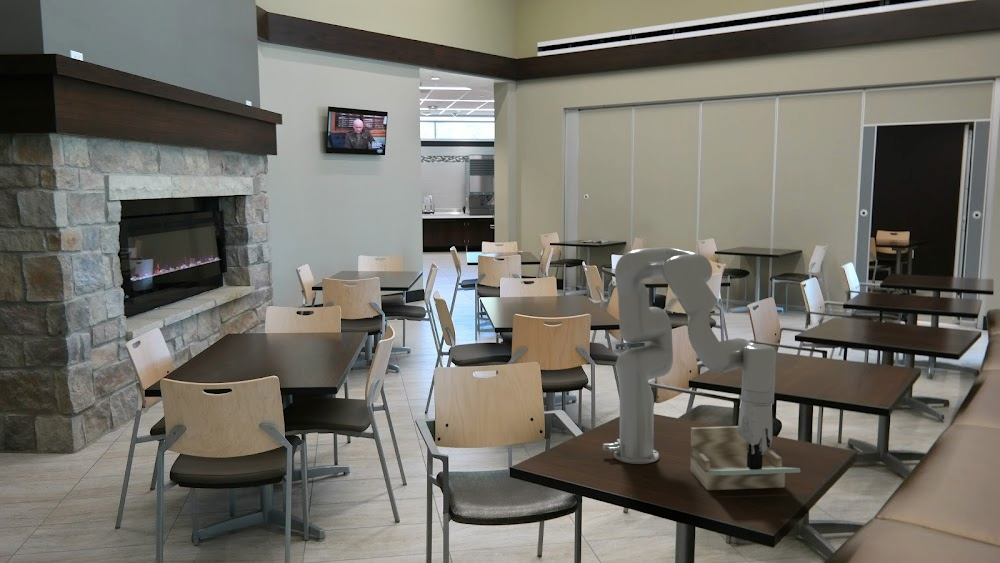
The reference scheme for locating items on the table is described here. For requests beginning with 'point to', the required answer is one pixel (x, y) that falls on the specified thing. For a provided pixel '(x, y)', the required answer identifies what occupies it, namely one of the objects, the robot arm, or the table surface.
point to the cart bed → (728, 460)
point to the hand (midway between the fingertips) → (754, 468)
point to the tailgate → (754, 471)
